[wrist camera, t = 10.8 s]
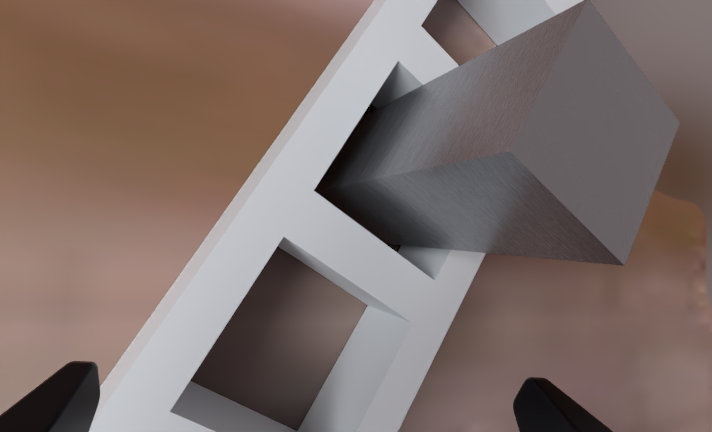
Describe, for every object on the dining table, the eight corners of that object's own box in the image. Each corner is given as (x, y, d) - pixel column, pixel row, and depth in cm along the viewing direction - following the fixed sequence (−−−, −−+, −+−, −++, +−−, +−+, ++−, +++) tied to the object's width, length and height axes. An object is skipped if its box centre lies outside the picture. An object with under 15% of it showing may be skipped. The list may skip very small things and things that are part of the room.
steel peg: (381, 243, 21) (624, 265, 10) (311, 192, 19) (509, 151, 8) (422, 172, 22) (679, 122, 11) (359, 118, 20) (588, -2, 9)
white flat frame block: (301, 493, 19) (335, 557, 15) (86, 405, 15) (64, 462, 12) (538, 50, 26) (600, 22, 22) (430, -79, 22) (482, -138, 19)
